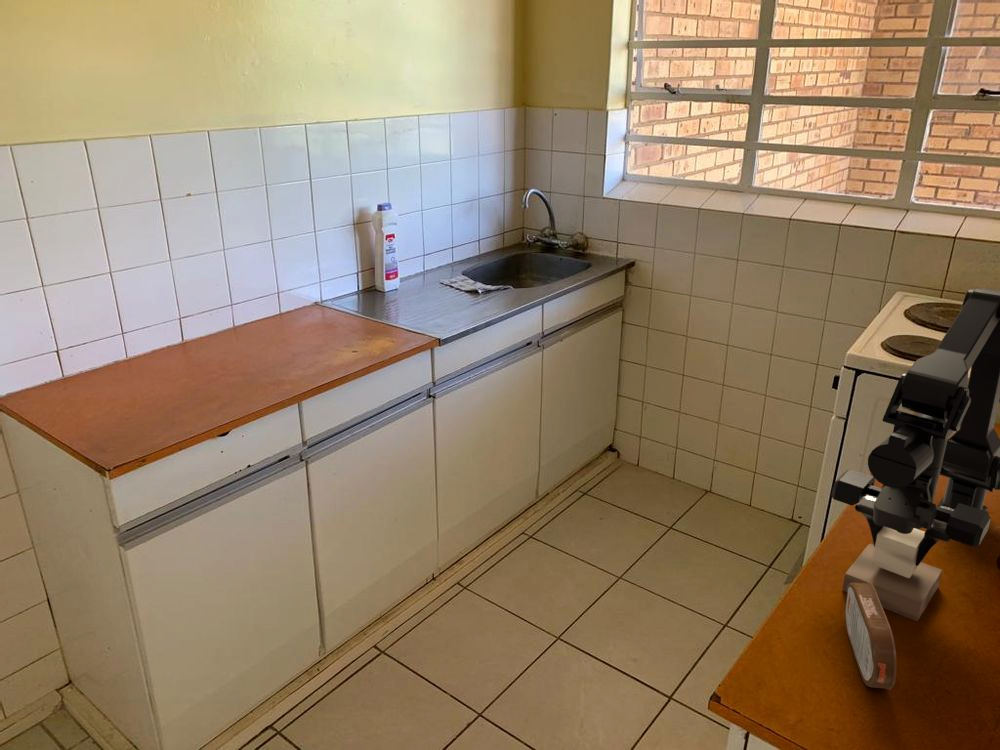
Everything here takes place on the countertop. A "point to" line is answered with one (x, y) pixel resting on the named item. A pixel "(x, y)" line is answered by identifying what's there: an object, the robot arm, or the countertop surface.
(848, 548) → the countertop surface
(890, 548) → the block
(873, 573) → the base
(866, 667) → the tin
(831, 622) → the countertop surface
